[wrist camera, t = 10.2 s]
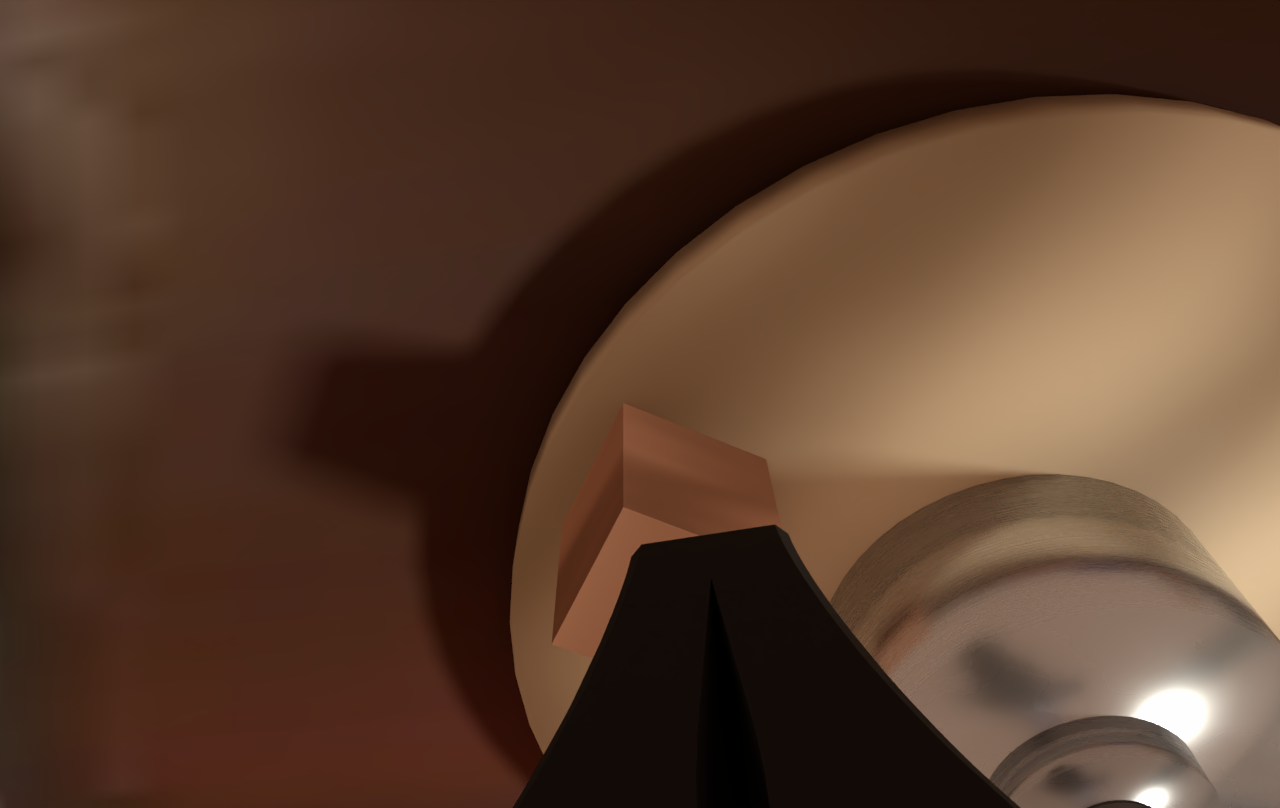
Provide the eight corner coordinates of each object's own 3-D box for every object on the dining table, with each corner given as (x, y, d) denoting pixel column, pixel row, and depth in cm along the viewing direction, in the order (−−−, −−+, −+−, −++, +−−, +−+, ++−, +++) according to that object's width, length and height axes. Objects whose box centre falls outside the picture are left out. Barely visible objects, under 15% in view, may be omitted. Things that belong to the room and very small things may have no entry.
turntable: (1753, 364, 19) (2033, 498, 15) (1120, 1001, 26) (1202, 1196, 22) (804, -124, 15) (864, -108, 11) (383, 775, 23) (335, 962, 19)
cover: (1303, 564, 19) (1479, 754, 15) (1063, 831, 22) (1159, 1048, 18) (955, 411, 18) (1051, 577, 14) (747, 718, 20) (777, 929, 17)
